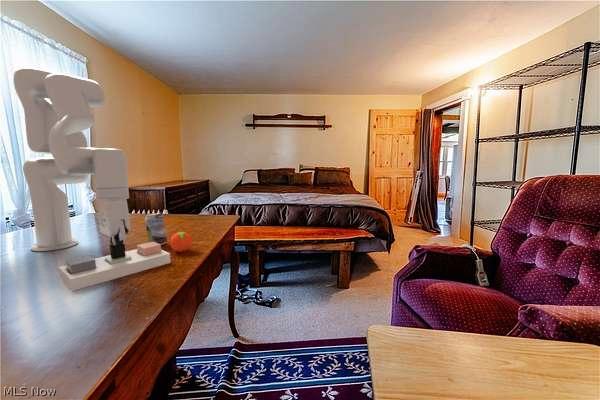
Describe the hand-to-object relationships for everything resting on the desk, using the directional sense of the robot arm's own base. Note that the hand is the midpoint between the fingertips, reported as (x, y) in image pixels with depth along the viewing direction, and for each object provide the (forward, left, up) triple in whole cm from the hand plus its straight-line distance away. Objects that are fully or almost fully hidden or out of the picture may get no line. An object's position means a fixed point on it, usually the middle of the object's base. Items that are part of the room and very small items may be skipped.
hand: (118, 257), depth 78 cm
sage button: (0, 0, -3) cm, 3 cm away
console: (0, 0, -4) cm, 4 cm away
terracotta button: (0, +8, -1) cm, 9 cm away
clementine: (-1, +19, -4) cm, 20 cm away
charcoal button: (0, -8, -2) cm, 9 cm away
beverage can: (-15, +17, -4) cm, 24 cm away
